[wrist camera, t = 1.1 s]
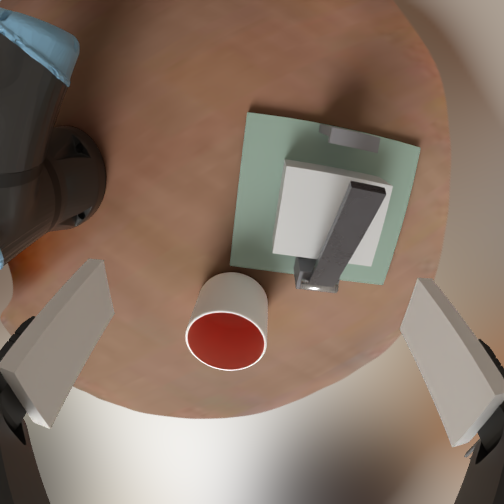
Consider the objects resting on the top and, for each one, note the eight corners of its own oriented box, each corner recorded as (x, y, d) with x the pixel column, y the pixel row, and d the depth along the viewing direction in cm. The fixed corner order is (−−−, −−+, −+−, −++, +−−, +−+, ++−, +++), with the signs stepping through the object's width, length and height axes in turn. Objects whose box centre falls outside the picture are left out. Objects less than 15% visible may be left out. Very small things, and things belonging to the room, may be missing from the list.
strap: (300, 281, 37) (299, 290, 36) (341, 177, 23) (343, 187, 23) (335, 286, 37) (335, 294, 36) (391, 187, 23) (394, 198, 23)
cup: (237, 255, 43) (228, 295, 34) (281, 303, 46) (283, 349, 37) (186, 292, 46) (169, 335, 37) (231, 334, 49) (223, 380, 40)
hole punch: (230, 261, 43) (222, 295, 36) (248, 112, 35) (241, 111, 27) (380, 280, 43) (399, 315, 36) (416, 146, 35) (449, 157, 27)
